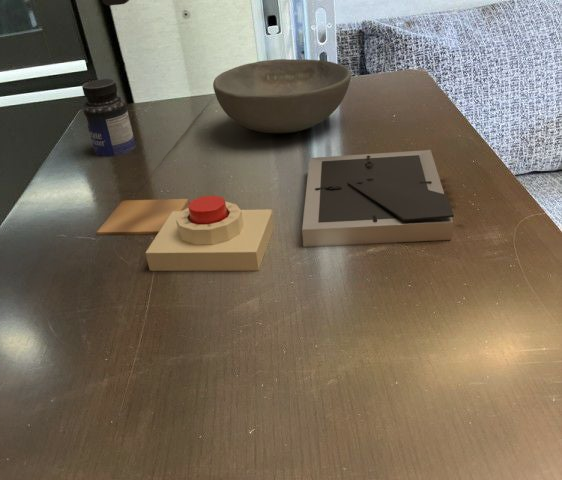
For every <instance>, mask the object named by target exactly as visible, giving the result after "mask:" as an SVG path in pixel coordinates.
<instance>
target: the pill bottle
mask: <svg viewBox="0 0 562 480" xmlns="http://www.w3.org/2000/svg"><path fill="white" fill-rule="evenodd" d="M81 88H82V92H83V95H84V97H85V98H86V100H87V101H86V102H85V103H84V105H83V108H82V109H83V110H82V111H83V114H84V117H85V121H86V124H87V129H88V132H89V136H90V140H91V143H92V146H93V150H94V154H95V155H96V156H99V157H106V158H107V157H117V156H121V155H125V154H127V153H130V152H131V151H133V150H134V149H135V148H136V146H137V145H136V140H135V138H134V133H133V128H132V124H131V119H130V116H129V112H128V107H127V103H126V101H125V100H124V99H123V98H122V97H120V96H118V94H117V92H118V86H117V83H116V80H115V79H112V78H101V79H95V80H90V81H87V82H84V83H83V84H82V85H81Z"/></svg>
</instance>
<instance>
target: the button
mask: <svg viewBox="0 0 562 480" xmlns="http://www.w3.org/2000/svg"><path fill="white" fill-rule="evenodd" d="M226 202H227V201H226V200H225V198H223V197H222V196H219V195H205V196H199V197H197V198H195V199H193V200H191V201H190V202H188V204H187V208H188V209H189V214H190V219H191V222H192V223H194V224H197V225H206V224H212V223H216V222H220V221H222V220H224V219H225V218H227V216H228V215H227V209H226Z"/></svg>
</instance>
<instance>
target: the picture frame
mask: <svg viewBox="0 0 562 480" xmlns="http://www.w3.org/2000/svg"><path fill="white" fill-rule="evenodd" d="M454 217H455V216H454V211H453V208H452V205H451V202H450V199H449V196H448V194H446V193H445V191H444V188H443V184H442V182H441V178H440V175H439V171H438V168H437V166H436V162H435V159H434V156H433V154H432V150H431V149H425V150H424V149H423V150H410V151H409V150H408V151H394V152H393V151H392V152H380V153H377V152H376V153H365V154H364V153H363V154H349V155H334V156H320V157H309V158H308V168H307V177H306V189H305V197H304V208H303V217H302V228H301V233H302V235H301V236H302V245H303V248H312V247H313V248H314V247H316V248H317V247H333V246H336V247H337V246H355V245H374V244H375V245H376V244H377V245H378V244H392V243H393V244H394V243H397V244H398V243H414V242H435V241H437V242H438V241H451V240H452V239H453V230H454V229H453V228H454V221H453V218H454Z"/></svg>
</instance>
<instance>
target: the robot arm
mask: <svg viewBox="0 0 562 480" xmlns="http://www.w3.org/2000/svg"><path fill="white" fill-rule="evenodd" d="M129 1H130V0H101V2H102V3H103V4H104V5H105V6H108V7H109V6H120V5H125V4H127V3H129Z"/></svg>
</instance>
